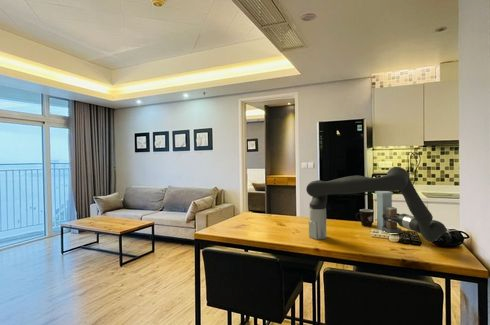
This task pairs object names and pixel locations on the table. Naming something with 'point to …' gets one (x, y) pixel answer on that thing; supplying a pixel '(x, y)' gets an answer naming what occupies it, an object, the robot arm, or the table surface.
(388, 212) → the rail block
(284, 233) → the table surface
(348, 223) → the table surface
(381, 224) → the post
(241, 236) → the table surface
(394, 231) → the bracket
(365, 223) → the coffee mug
